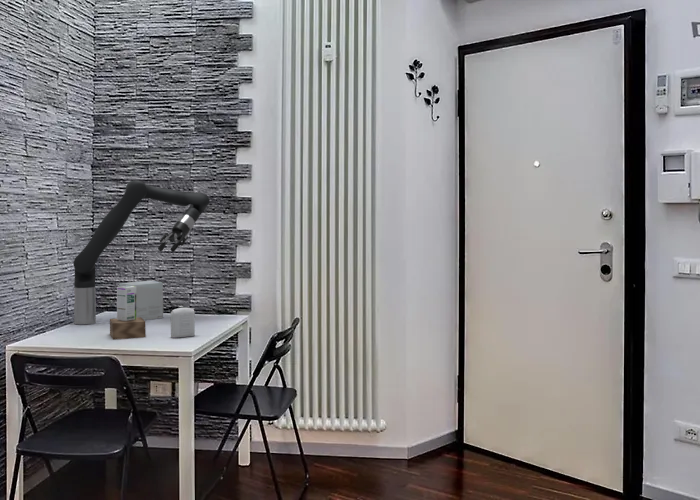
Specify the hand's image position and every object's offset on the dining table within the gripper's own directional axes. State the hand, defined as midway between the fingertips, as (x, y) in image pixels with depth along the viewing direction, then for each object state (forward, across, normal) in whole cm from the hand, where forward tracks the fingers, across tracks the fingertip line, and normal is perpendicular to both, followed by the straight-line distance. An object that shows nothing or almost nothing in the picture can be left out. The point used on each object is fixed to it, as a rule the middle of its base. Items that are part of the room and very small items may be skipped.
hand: (165, 250), depth 319 cm
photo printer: (+39, +32, +11) cm, 51 cm away
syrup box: (+42, +11, -2) cm, 44 cm away
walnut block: (+47, +11, +2) cm, 49 cm away
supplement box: (+22, -21, +27) cm, 41 cm away
